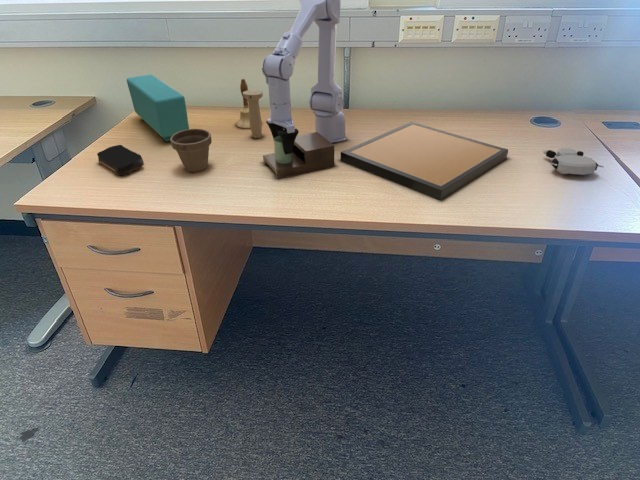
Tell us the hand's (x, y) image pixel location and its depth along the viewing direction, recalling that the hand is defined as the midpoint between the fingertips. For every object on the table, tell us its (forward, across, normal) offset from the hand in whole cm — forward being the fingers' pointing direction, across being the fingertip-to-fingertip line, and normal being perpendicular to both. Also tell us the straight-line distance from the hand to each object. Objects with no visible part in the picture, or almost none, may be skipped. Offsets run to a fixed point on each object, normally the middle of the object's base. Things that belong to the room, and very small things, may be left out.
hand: (283, 148), depth 132 cm
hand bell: (+6, -40, +1) cm, 41 cm away
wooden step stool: (+6, 0, +4) cm, 7 cm away
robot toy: (+6, +38, +72) cm, 82 cm away
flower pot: (+6, -12, -24) cm, 27 cm away
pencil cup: (+3, 0, 0) cm, 4 cm away
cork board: (+6, +14, +39) cm, 42 cm away
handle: (+6, -27, 0) cm, 28 cm away
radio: (+6, -50, -27) cm, 57 cm away
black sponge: (+6, -24, -44) cm, 50 cm away
